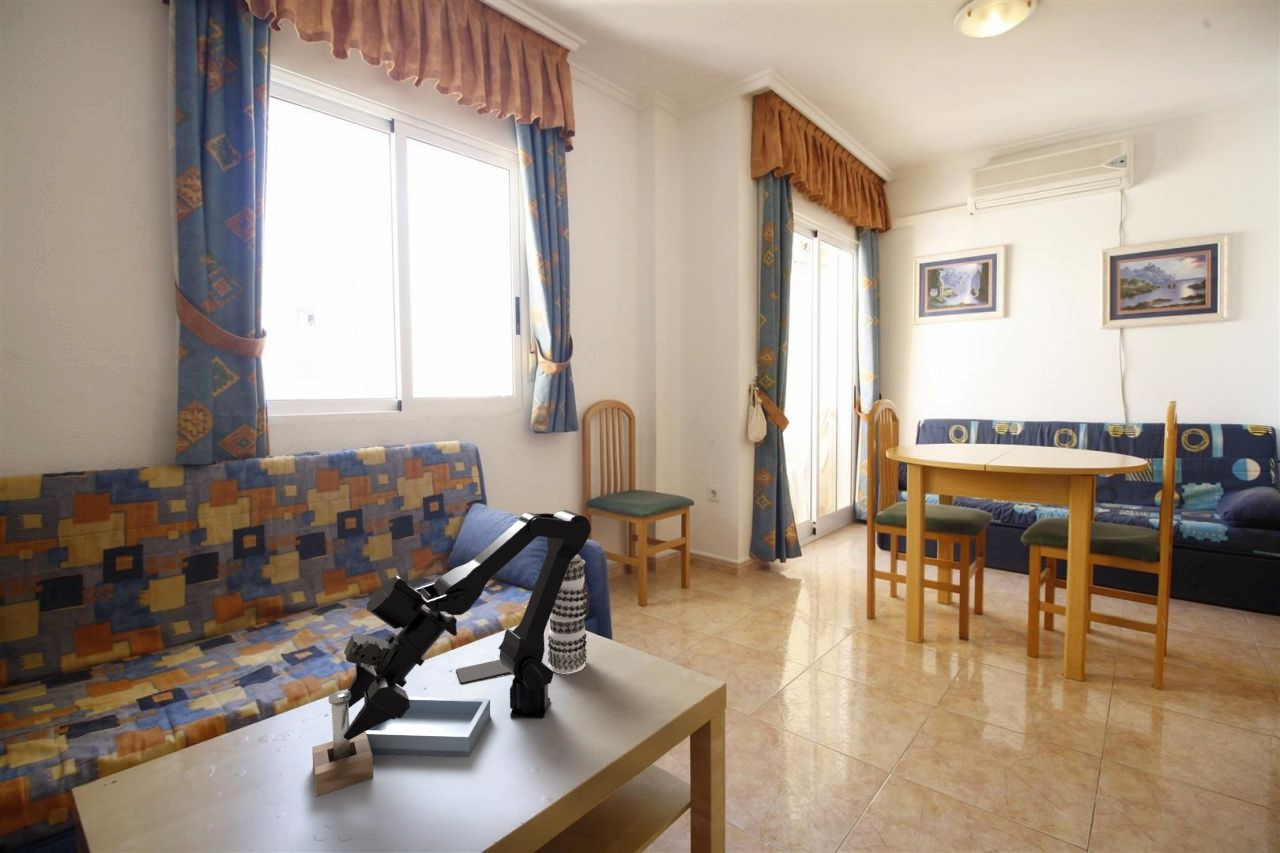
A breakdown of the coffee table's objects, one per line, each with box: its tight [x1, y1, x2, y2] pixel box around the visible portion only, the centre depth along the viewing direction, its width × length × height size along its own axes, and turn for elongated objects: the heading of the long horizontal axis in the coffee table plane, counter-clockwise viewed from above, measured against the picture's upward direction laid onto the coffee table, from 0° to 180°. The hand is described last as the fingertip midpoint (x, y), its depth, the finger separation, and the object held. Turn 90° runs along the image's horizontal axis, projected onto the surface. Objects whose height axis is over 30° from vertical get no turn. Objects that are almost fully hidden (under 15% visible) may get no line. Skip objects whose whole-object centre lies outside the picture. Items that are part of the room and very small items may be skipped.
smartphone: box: [455, 659, 512, 685], centre depth 129 cm, size 7×1×15 cm
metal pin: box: [328, 689, 351, 761], centre depth 95 cm, size 3×3×13 cm
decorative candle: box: [547, 553, 588, 673], centre depth 131 cm, size 9×9×25 cm
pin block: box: [311, 732, 374, 797], centre depth 95 cm, size 8×8×4 cm
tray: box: [363, 696, 491, 758], centre depth 105 cm, size 20×12×4 cm, turn 87°
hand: (342, 723), depth 95 cm, fingers open, 9 cm apart
